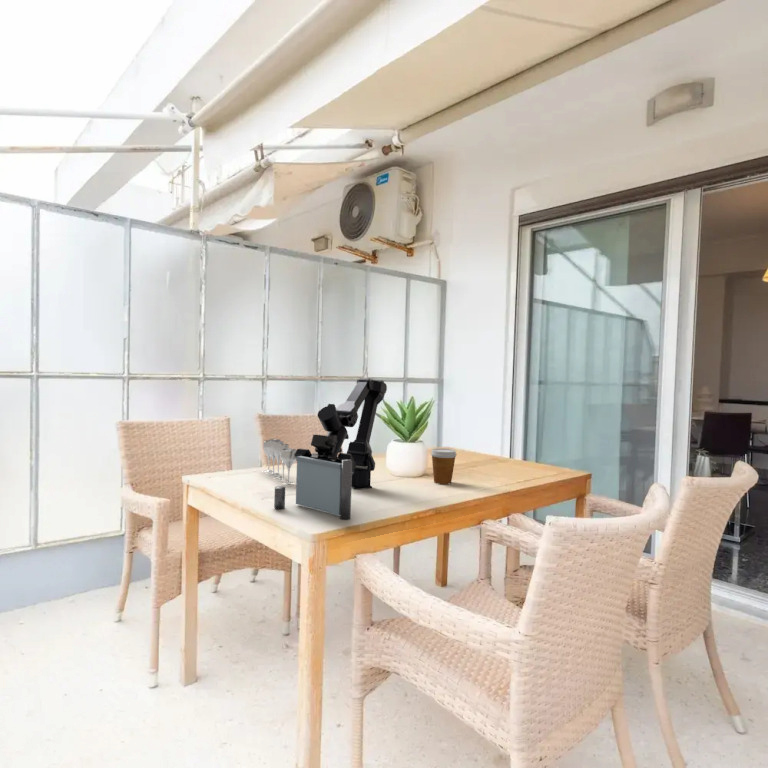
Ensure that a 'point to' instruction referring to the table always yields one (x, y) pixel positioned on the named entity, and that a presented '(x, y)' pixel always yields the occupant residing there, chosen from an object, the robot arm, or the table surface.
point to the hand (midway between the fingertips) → (314, 483)
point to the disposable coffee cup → (443, 465)
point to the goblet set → (279, 455)
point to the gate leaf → (319, 484)
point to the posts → (345, 491)
